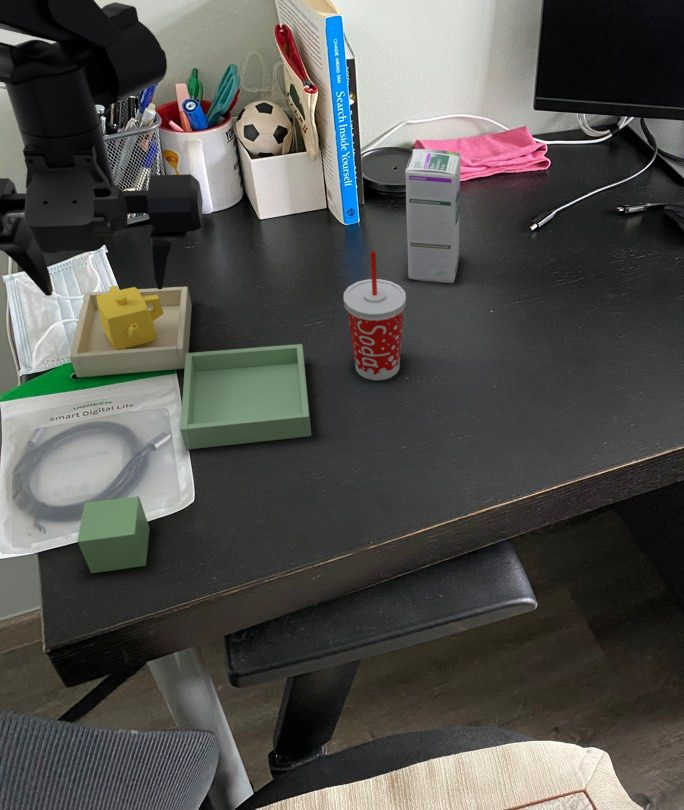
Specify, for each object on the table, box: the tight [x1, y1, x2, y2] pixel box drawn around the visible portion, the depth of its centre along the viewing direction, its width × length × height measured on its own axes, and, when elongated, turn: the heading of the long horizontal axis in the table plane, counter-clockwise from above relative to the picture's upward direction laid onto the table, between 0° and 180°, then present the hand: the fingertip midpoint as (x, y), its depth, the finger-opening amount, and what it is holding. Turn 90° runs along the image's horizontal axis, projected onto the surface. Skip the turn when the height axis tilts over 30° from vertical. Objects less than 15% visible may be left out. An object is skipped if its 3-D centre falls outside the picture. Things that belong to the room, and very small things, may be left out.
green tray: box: [179, 343, 312, 451], centre depth 80 cm, size 11×11×3 cm
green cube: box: [77, 495, 151, 574], centre depth 65 cm, size 4×4×4 cm
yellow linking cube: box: [96, 285, 164, 350], centre depth 84 cm, size 8×6×5 cm
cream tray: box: [69, 286, 193, 378], centre depth 85 cm, size 10×11×3 cm
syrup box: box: [404, 148, 462, 284], centre depth 97 cm, size 6×6×14 cm
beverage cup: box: [343, 250, 407, 381], centre depth 82 cm, size 6×6×14 cm
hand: (106, 290), depth 75 cm, fingers open, 9 cm apart
